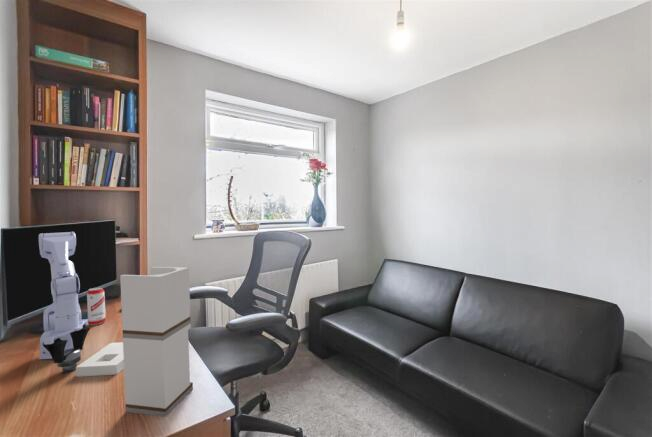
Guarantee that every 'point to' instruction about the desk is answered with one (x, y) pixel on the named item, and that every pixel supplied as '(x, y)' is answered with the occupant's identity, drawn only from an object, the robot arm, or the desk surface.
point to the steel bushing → (70, 360)
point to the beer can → (96, 306)
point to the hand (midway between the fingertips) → (69, 356)
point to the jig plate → (103, 362)
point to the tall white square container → (156, 339)
